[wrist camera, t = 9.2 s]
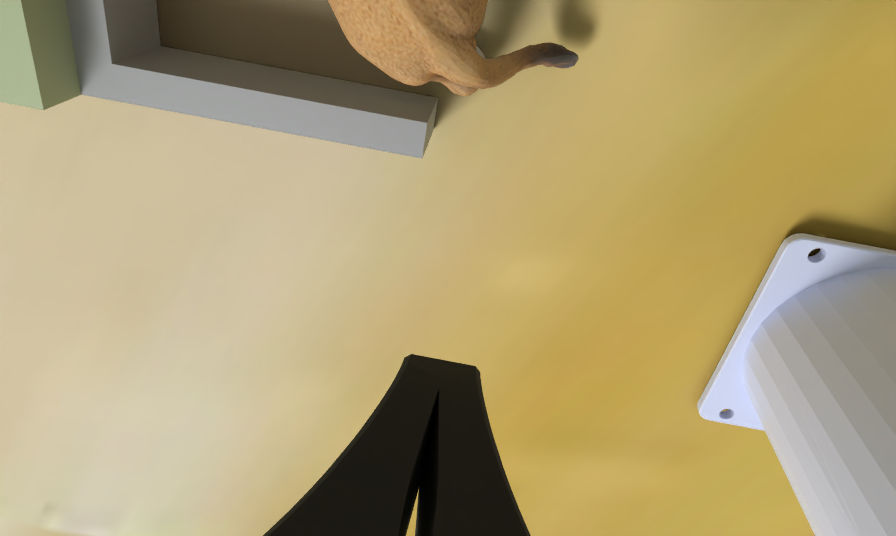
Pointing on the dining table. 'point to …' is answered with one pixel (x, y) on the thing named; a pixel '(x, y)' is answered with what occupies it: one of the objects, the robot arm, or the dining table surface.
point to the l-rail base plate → (190, 77)
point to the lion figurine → (436, 43)
